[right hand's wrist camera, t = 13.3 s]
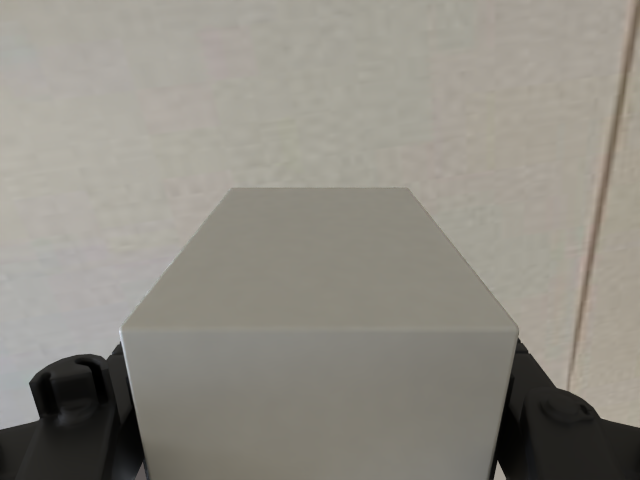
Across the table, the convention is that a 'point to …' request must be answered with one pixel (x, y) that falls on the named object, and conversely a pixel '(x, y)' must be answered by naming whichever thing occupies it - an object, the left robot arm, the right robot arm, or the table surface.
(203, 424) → the bar
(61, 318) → the table surface
